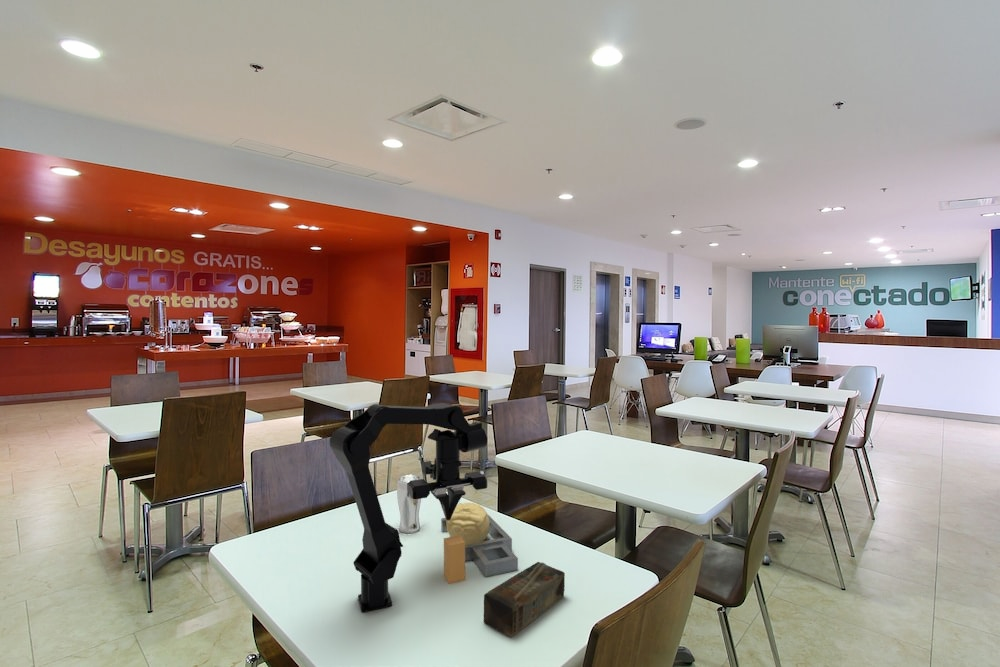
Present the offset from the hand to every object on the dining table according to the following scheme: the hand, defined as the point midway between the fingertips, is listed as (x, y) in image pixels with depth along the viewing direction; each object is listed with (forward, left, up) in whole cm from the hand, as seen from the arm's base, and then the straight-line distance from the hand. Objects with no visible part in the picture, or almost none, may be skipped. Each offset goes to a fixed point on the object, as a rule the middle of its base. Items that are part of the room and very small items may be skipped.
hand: (447, 519), depth 122 cm
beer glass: (+28, +4, -13) cm, 31 cm away
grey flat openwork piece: (+8, -12, -13) cm, 19 cm away
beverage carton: (-22, -11, -13) cm, 28 cm away
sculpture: (+13, -10, -13) cm, 21 cm away
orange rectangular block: (-3, 0, -13) cm, 13 cm away
